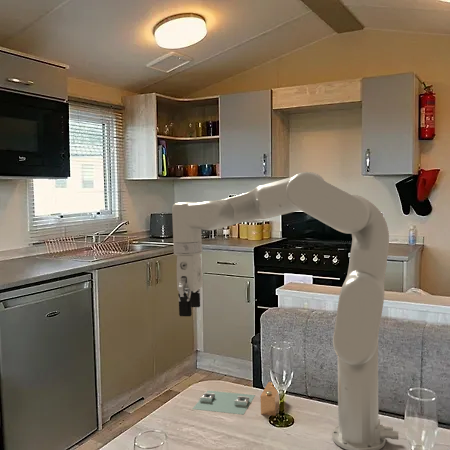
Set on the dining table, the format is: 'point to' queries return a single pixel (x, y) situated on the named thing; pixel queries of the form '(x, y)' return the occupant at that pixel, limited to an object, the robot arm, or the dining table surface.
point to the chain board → (224, 403)
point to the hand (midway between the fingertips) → (190, 311)
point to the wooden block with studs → (269, 400)
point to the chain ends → (239, 402)
